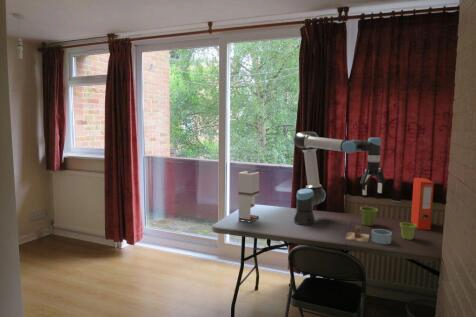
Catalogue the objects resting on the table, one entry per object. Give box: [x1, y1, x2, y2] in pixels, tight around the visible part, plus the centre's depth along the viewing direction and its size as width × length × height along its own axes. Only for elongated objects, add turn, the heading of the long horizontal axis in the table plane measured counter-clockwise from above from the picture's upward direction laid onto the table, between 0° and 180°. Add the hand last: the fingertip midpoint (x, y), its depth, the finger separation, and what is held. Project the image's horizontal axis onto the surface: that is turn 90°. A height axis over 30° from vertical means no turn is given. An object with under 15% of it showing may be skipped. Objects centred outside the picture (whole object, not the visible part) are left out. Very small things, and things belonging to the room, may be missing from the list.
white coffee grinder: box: [238, 170, 260, 223], centre depth 252 cm, size 11×11×35 cm
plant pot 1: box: [359, 206, 379, 226], centre depth 241 cm, size 12×12×11 cm
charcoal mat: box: [343, 235, 371, 244], centre depth 214 cm, size 14×14×1 cm
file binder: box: [410, 177, 435, 231], centre depth 237 cm, size 8×17×32 cm, turn 167°
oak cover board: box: [344, 225, 371, 244], centre depth 213 cm, size 13×13×7 cm
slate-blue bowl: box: [370, 228, 393, 245], centre depth 208 cm, size 11×11×6 cm
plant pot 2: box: [399, 222, 417, 241], centre depth 214 cm, size 9×9×9 cm
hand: (372, 193), depth 226 cm, fingers open, 13 cm apart
